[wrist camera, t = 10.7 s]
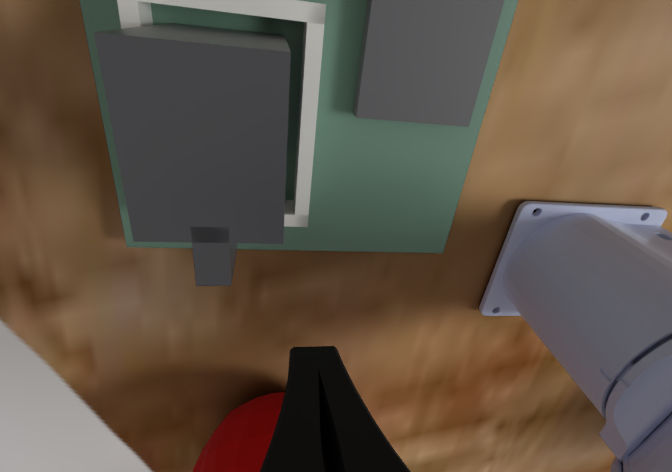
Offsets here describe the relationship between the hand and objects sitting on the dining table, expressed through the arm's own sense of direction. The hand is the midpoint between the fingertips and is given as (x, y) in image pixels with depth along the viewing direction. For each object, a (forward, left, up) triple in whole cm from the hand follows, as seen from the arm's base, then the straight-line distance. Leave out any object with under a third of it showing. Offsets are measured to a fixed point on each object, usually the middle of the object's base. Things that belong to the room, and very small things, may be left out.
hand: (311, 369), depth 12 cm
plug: (+3, -6, -8) cm, 11 cm away
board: (0, -6, -9) cm, 11 cm away
